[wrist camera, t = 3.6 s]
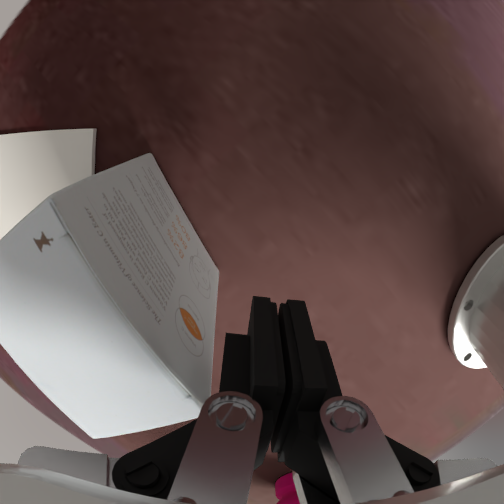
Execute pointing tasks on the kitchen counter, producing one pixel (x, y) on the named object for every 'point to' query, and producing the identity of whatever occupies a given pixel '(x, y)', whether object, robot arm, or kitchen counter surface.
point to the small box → (111, 302)
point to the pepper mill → (286, 490)
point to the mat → (40, 168)
